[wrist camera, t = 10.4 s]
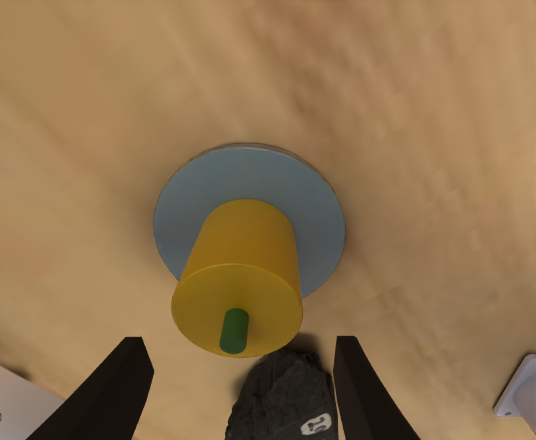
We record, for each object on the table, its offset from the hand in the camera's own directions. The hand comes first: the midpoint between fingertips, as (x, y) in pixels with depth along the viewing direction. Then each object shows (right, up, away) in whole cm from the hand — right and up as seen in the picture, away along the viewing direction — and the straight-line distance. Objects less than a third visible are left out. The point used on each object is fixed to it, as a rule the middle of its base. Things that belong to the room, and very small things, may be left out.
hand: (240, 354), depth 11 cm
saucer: (0, +4, +7) cm, 8 cm away
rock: (+2, -9, +14) cm, 17 cm away
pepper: (0, +4, +6) cm, 7 cm away
